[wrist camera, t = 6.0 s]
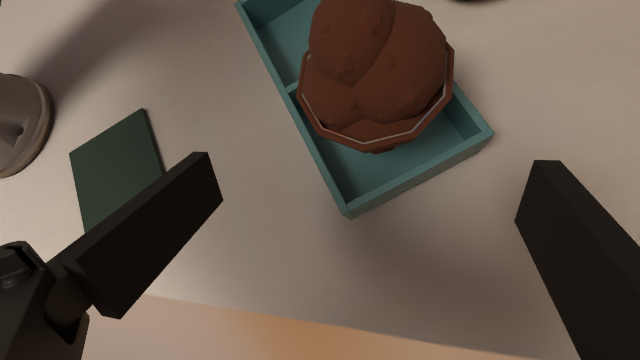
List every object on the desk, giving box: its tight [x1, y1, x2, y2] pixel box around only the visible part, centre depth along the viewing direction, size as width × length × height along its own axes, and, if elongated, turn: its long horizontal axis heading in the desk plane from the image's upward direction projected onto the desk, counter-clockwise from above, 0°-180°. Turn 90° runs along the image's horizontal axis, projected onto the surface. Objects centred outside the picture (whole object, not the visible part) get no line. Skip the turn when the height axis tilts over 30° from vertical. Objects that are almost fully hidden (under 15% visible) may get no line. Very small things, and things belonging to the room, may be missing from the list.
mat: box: [69, 108, 165, 233], centre depth 37 cm, size 12×12×1 cm
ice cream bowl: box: [296, 0, 454, 154], centre depth 22 cm, size 11×11×15 cm
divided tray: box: [234, 0, 495, 220], centre depth 30 cm, size 14×26×5 cm, turn 27°
